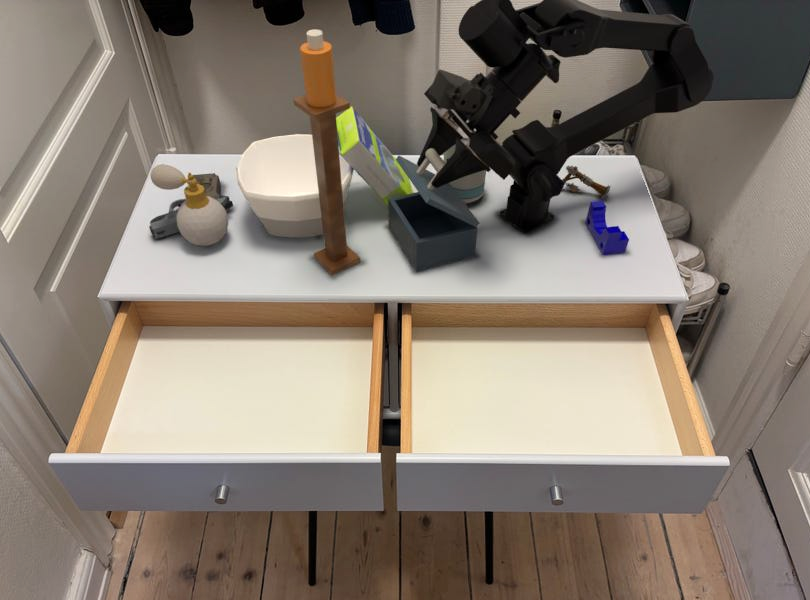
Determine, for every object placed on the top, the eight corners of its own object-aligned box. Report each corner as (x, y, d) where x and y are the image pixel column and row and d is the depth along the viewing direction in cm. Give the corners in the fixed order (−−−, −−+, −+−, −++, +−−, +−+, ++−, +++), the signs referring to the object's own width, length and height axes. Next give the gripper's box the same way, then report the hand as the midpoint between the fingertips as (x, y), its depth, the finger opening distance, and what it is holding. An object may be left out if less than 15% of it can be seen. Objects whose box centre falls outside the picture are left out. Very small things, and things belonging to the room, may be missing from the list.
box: (419, 207, 104) (351, 129, 93) (398, 221, 106) (329, 147, 94) (408, 170, 111) (343, 94, 100) (388, 184, 113) (322, 110, 101)
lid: (426, 203, 89) (447, 173, 87) (395, 159, 96) (414, 131, 94) (476, 227, 95) (497, 200, 93) (444, 184, 103) (463, 159, 101)
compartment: (416, 271, 97) (416, 243, 93) (388, 227, 105) (388, 198, 101) (475, 256, 100) (478, 227, 96) (444, 213, 107) (445, 185, 103)
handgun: (130, 190, 108) (151, 229, 100) (212, 166, 112) (237, 202, 105) (135, 203, 109) (155, 242, 102) (216, 179, 114) (240, 215, 107)
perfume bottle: (230, 252, 100) (213, 184, 91) (165, 257, 100) (141, 189, 91) (233, 222, 105) (217, 155, 96) (171, 227, 105) (149, 159, 96)
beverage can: (436, 203, 109) (439, 136, 100) (448, 180, 113) (452, 114, 104) (477, 211, 107) (484, 143, 98) (487, 187, 112) (494, 121, 103)
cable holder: (624, 252, 100) (631, 231, 97) (602, 254, 100) (608, 233, 97) (606, 220, 105) (612, 199, 102) (585, 222, 105) (590, 201, 102)
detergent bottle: (325, 90, 82) (319, 23, 76) (341, 101, 80) (336, 33, 74) (300, 99, 81) (292, 31, 75) (316, 110, 79) (309, 42, 73)
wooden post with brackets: (554, 180, 111) (570, 160, 108) (594, 204, 112) (611, 184, 109) (552, 186, 110) (568, 165, 107) (593, 210, 111) (610, 191, 108)
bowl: (356, 181, 113) (352, 130, 106) (359, 247, 101) (355, 194, 94) (251, 186, 112) (240, 135, 105) (241, 253, 100) (229, 200, 93)
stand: (341, 245, 102) (327, 87, 83) (360, 262, 99) (349, 102, 80) (314, 258, 100) (292, 98, 81) (332, 275, 97) (314, 114, 78)
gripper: (440, 20, 88) (364, 113, 93) (505, 81, 76) (413, 183, 82) (488, 70, 95) (415, 153, 101) (553, 132, 84) (466, 223, 89)
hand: (426, 175), depth 93 cm, fingers closed on lid, 5 cm apart
